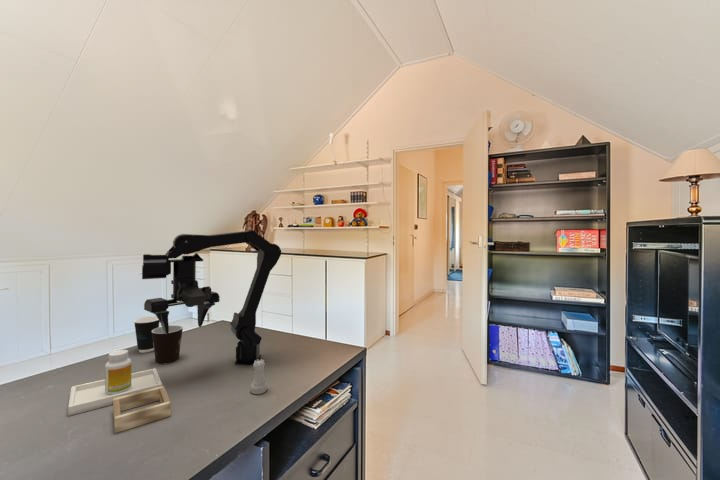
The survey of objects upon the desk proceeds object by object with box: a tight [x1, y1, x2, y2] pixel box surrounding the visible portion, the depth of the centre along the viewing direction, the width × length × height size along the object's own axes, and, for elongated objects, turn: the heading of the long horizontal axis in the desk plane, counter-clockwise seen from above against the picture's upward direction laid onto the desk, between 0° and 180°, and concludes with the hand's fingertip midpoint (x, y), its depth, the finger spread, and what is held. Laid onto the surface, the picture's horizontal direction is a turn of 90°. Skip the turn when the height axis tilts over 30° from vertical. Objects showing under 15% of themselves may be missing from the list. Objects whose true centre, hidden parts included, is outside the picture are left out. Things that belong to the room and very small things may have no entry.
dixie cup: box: [132, 315, 160, 354], centre depth 110 cm, size 8×8×11 cm
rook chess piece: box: [249, 358, 268, 395], centre depth 84 cm, size 4×4×8 cm
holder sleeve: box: [112, 385, 172, 434], centre depth 72 cm, size 10×10×3 cm
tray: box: [67, 367, 163, 417], centre depth 81 cm, size 18×12×2 cm, turn 130°
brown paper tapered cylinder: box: [152, 324, 184, 365], centre depth 103 cm, size 12×9×10 cm
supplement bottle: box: [104, 349, 132, 394], centre depth 81 cm, size 5×5×10 cm
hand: (184, 330), depth 92 cm, fingers open, 9 cm apart
